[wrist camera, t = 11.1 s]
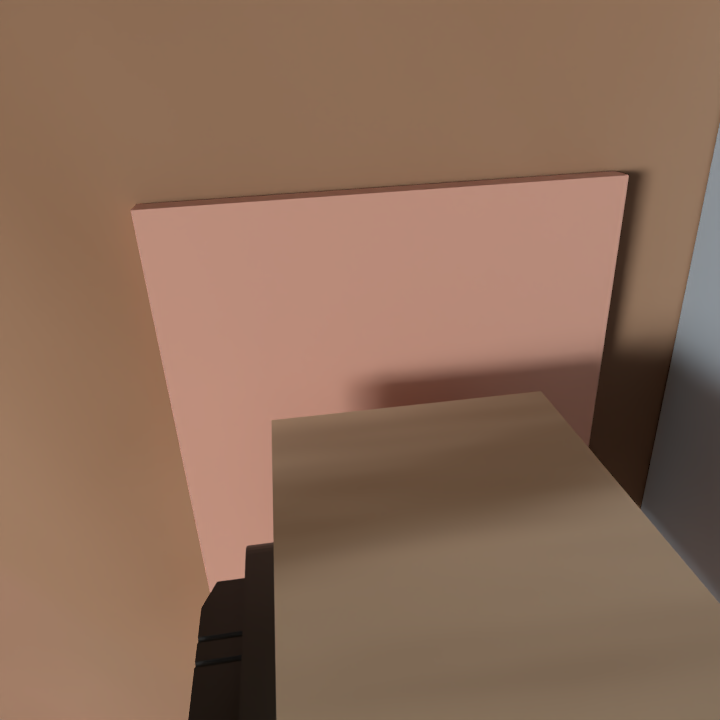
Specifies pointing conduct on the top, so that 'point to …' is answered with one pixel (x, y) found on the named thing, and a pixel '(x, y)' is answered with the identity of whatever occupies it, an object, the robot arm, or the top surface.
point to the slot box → (693, 412)
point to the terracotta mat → (367, 316)
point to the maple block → (476, 574)
